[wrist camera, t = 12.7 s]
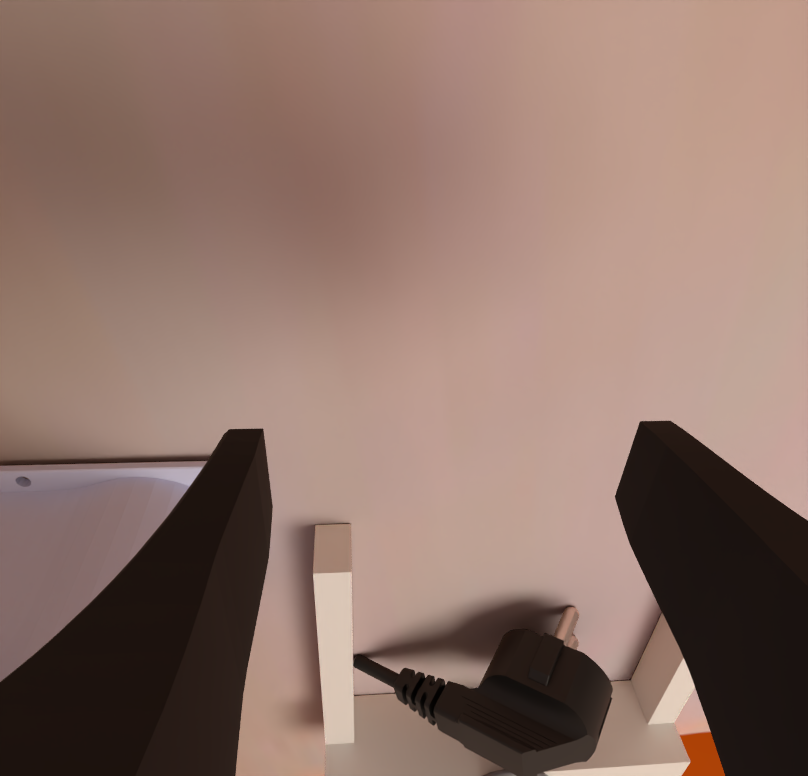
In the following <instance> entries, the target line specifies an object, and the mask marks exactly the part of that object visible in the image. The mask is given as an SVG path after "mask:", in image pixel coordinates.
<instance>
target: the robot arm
mask: <svg viewBox="0 0 808 776" xmlns="http://www.w3.org/2000/svg"><path fill="white" fill-rule="evenodd" d="M23 477H26V478H28V479H25V478H23ZM615 498H616V502H617V505H618V509H619V512H620V515H621V519H622V522H623V525H624V528H625V531H626V534H627V537H628V540H629V543H630V545H631V547H632V550H633V552H634V554H635V556H636V558H637V560H638V563H639V565H640V567H641V569H642V571H643V573H644V575H645V578H646V580H647V582H648V584H649V586H650V588H651V590H652V592H653V594H654V596H655V598H656V600H657V603H658V605H659V607H660V609H661V611H662V613H663V615H664V617H665V619H666V621H667V623H668V625H669V627H670V630H671V632H672V634H673V636H674V638H675V640H676V642H677V644H678V646H679V648H680V651H681V653H682V655H683V658H684V660H685V662H686V665H687V667H688V669H689V672H690V675H691V677H692V680H693V683H694V686H695V688H696V691H697V694H698V697H699V699H700V702H701V705H702V708H703V711H704V713H705V716H706V719H707V722H708V725H709V728H710V731H711V734H712V737H713V740H714V743H715V746H716V749H717V752H718V755H719V758H720V761H721V764H722V767H723V770H724V773H725V776H808V521H807V520H806V519H804V518H803V517H801V516H800V515H799V514H797V513H796V512H794V511H793V510H791V509H790V508H788V507H787V506H785V505H784V504H783V503H781V502H780V501H778V500H777V499H776V498H774V497H773V496H771V495H770V494H769V493H767V492H766V491H765V490H763V489H762V488H760V487H759V486H758V485H756V484H755V483H754V482H752V481H751V480H750V479H748V478H747V477H746V476H744V475H743V474H742V473H740V472H739V471H738V470H736V469H735V468H734V467H732V466H731V465H730V464H728V463H727V462H726V461H724V460H723V459H722V458H720V457H719V456H718V455H717V454H715V453H714V452H713V451H711V450H710V449H709V448H707V447H706V446H705V445H703V444H702V443H701V442H699V441H698V440H697V439H695V438H694V437H693V436H691V435H690V434H689V433H687V432H686V431H684V430H683V429H682V428H680V427H679V426H677V425H676V424H674V423H673V422H671V421H640V423H639V426H638V429H637V432H636V435H635V438H634V441H633V444H632V447H631V450H630V453H629V456H628V459H627V462H626V465H625V468H624V471H623V474H622V477H621V480H620V483H619V486H618V489H617V492H616V495H615ZM272 508H273V506H272V498H271V490H270V481H269V473H268V465H267V456H266V448H265V440H264V432H263V429H229V430H228V431H227V432H226V433H225V434H224V435H223V437H222V439H221V440H220V442H219V443H218V445H217V447H216V448H215V450H214V451H213V453H212V455H211V456H210V458H209V459H208V461H185V462H142V463H99V464H56V465H14V466H0V776H235V773H236V762H237V750H238V740H239V730H240V720H241V710H242V700H243V692H244V685H245V679H246V672H247V667H248V662H249V656H250V651H251V646H252V641H253V636H254V631H255V626H256V621H257V616H258V611H259V605H260V600H261V595H262V590H263V585H264V580H265V574H266V569H267V564H268V558H269V548H270V536H271V522H272Z"/></svg>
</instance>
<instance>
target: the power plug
mask: <svg viewBox="0 0 808 776" xmlns="http://www.w3.org/2000/svg"><path fill="white" fill-rule="evenodd" d="M578 618H579V612H578V610H577V609H576V608H574V607H567V608H566V609H565V610H564V612H563V614H562V617H561V619H560V621H559V624H558V626H557V629H556V631H555V633H554V636H552V635H549V634H547V633H545V634H544V636H541V635H539V634H537V633H534V632H532V631H529V630H527V629H516V630H512V631H509V632H507V633H506V634H505V635H504V636H503V638H502V640H501V642H500V644H499V647H498V649H497V651H496V653H495V655H494V657H493V659H492V661H491V663H490V665H489V667H488V669H487V671H486V673H485V675H484V677H483V679H482V681H481V683H480V685H479V687H478V688H476V689H469V688H467V687H465V686H463V685H460V684H457V683H453V682H450V681H448V682H447V684H446V685H445V681H444V679H441V678H438V679H437V680H436V682H435V678H434V676H431V675H428V676H427V677H426V678H425V675H424V673H421V672H418V673H417V674H416V675H415V671H414V670H411V669H408V668H404V669H403V670H402V671H401V672H400V674H398V673H396V672H394V671H392V670H390V669H388V668H386V667H384V666H382V665H380V664H378V663H376V662H374V661H372V660H370V659H368V658H366V657H364V656H362V655H357V656H356V658H355V660H354V663H353V666H354V667H355V668H357V669H359V670H361V671H363V672H365V673H367V674H368V675H370V676H372V677H374V678H376V679H378V680H380V681H382V682H384V683H386V684H388V685H390V686H391V687H393V688H394V690H395V693H396V696H397V699H398V700H399V701H400V702H402V703H403V704H404V705H407V704H409V707H410V709H411V710H413V711H414V712H416V711H418V713H419V716H421V717H422V718H423V719H425V718H426V716H427V719H428V722H429V723H430V724H432V725H433V726H434V725H435V724H437V727H438V730H440V731H441V732H443V733H444V734H446V735H448V736H450V737H452V738H454V739H456V740H457V741H459V742H460V743H461V744H463V745H464V747H465V748H466V749H468V750H470V751H472V752H474V753H476V754H478V755H479V756H481V757H483V758H485V759H487V760H489V761H491V762H492V763H494V764H496V765H498V766H500V767H502V768H503V769H505V770H507V771H509V772H511V773H513V774H514V775H516V776H537V774H539V773H542V772H546V771H549V770H552V769H556V768H559V767H563V766H566V765H569V764H573V763H578V762H587V761H588V760H589V759H590V758H591V756H592V755H593V754H594V752H595V750H596V747H597V744H598V741H599V738H600V735H601V732H602V729H603V725H604V722H605V719H606V716H607V713H608V710H609V707H610V704H611V701H612V697H611V695H612V692H613V688H612V685H611V682H610V680H609V678H608V677H607V675H606V674H605V673H604V671H603V670H602V669H601V668H600V667H599V666H598V665H597V664H596V663H595V662H594V661H593V660H592V659H591V658H589V657H588V656H587V655H585V654H584V653H582V652H580V651H577V647H578V644H579V642H578V639H577V638H576V637H575V636H573V635H572V633H573V631H574V628H575V626H576V623H577V621H578Z"/></svg>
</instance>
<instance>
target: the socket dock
mask: <svg viewBox="0 0 808 776" xmlns="http://www.w3.org/2000/svg"><path fill="white" fill-rule="evenodd" d="M313 581H314V595H315V608H316V622H317V636H318V649H319V663H320V677H321V690H322V704H323V718H324V731H325V776H516V775H514V774H513V773H511V772H509V771H507V770H505V769H503V768H502V767H500V766H498V765H496V764H494V763H492V762H491V761H489V760H487V759H485V758H483V757H481V756H479V755H478V754H476V753H474V752H472V751H470V750H468V749H466V748H465V747H464V745H463V744H461V743H460V742H459V741H457V740H456V739H454V738H452V737H450V736H448V735H446V734H444V733H443V732H441V731H440V730H438V727H437V724H435V725H434V726H433V725H432V724H430V723H429V722H428V719H427V716H426V718H425V719H423V718H422V717H421V716H419V713H418V711H416V712H414V711H413V710H411V709H410V707H409V704H407V705H404V704H403V703H402V702H400V701H399V700H398V699H397V696H396V694H380V695H363V696H354V685H353V623H352V561H351V524H331V525H315V543H314V563H313ZM611 685H612V688H613V692H612V695H611V697H612V701H611V704H610V707H609V710H608V713H607V716H606V719H605V722H604V725H603V729H602V732H601V735H600V738H599V741H598V744H597V747H596V750H595V752H594V754H593V755H592V756H591V758H590V759H589V760H588V761H587V762H578V763H573V764H569V765H566V766H563V767H559V768H556V769H552V770H549V771H546V772H542V773H539V774H537V776H681V775H682V774H683V772H684V771H685V769H686V768H687V766H688V765H689V763H690V760H689V757H688V755H687V752H686V750H685V748H684V745H683V743H682V741H681V738H680V736H679V733H678V731H677V729H676V726H675V724H674V722H675V720H676V719H677V717H678V715H679V713H680V712H681V710H682V708H683V707H684V705H685V703H686V702H687V700H688V698H689V696H690V695H691V693H692V691H693V690H694V688H695V686H694V683H693V680H692V677H691V675H690V672H689V669H688V667H687V665H686V662H685V660H684V658H683V655H682V653H681V651H680V648H679V646H678V644H677V642H676V640H675V638H674V636H673V634H672V632H671V630H670V627H669V625H668V623H667V621H666V619H665V617H664V615H663V613H662V614H661V616H660V619H659V621H658V623H657V625H656V627H655V629H654V631H653V634H652V636H651V638H650V640H649V642H648V644H647V646H646V649H645V651H644V653H643V655H642V657H641V659H640V661H639V664H638V666H637V668H636V670H635V672H634V674H633V676H632V679H631V680H629V681H611Z"/></svg>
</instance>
